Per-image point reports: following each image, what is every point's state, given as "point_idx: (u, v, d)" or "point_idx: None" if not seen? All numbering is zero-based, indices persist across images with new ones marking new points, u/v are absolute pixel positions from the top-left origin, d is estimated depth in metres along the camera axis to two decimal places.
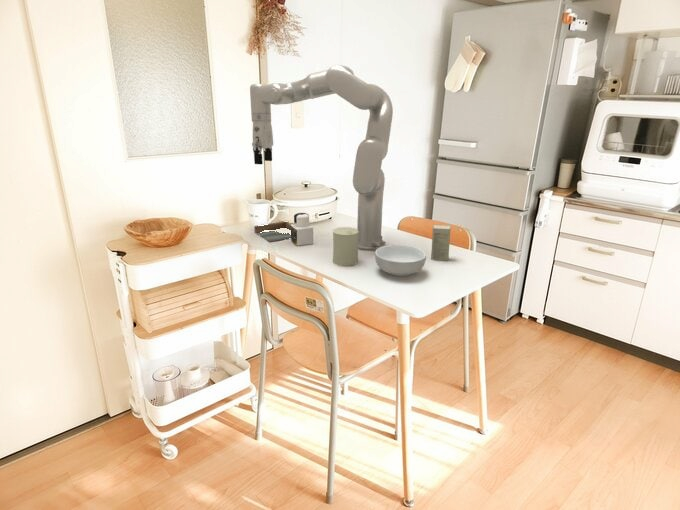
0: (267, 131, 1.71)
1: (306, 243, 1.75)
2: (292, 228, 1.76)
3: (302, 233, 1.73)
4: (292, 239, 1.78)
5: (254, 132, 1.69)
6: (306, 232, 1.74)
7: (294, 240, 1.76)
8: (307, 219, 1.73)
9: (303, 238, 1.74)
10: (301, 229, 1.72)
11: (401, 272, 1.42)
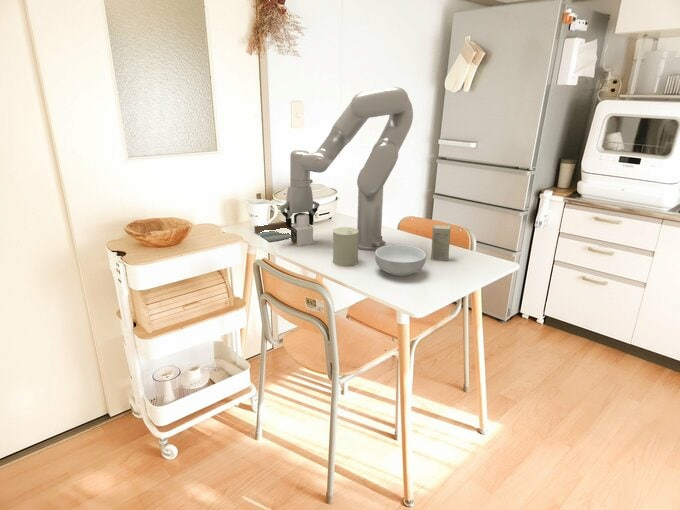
0: None
1: (306, 243, 1.75)
2: (292, 228, 1.76)
3: (302, 233, 1.73)
4: (292, 239, 1.78)
5: None
6: (306, 232, 1.74)
7: (294, 240, 1.76)
8: (307, 219, 1.73)
9: (303, 238, 1.74)
10: (301, 229, 1.72)
11: (401, 272, 1.42)
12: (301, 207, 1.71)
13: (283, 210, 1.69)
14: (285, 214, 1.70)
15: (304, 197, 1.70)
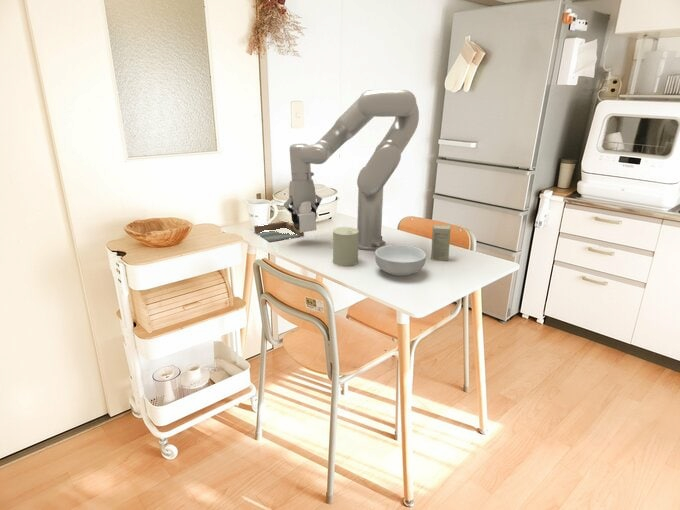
0: None
1: (309, 229, 1.73)
2: None
3: (304, 219, 1.71)
4: (295, 226, 1.76)
5: None
6: (308, 218, 1.72)
7: (296, 227, 1.74)
8: (309, 205, 1.71)
9: (305, 225, 1.72)
10: (303, 215, 1.70)
11: (401, 272, 1.42)
12: (304, 201, 1.70)
13: (288, 206, 1.69)
14: (290, 210, 1.69)
15: (306, 190, 1.69)
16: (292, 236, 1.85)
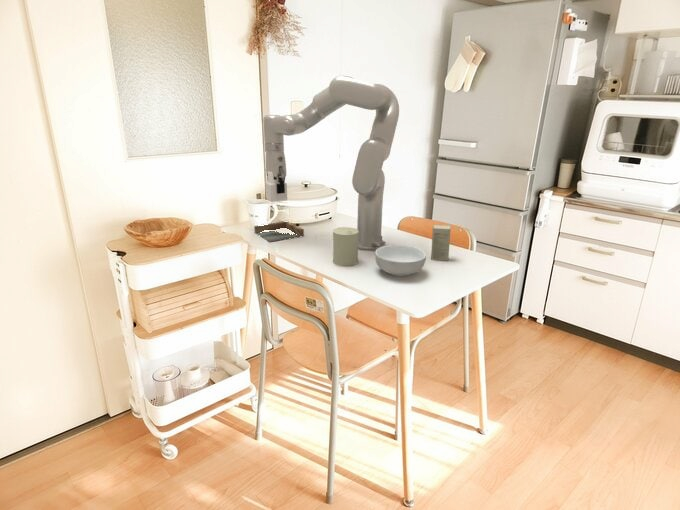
0: None
1: (268, 198, 1.80)
2: None
3: (266, 187, 1.79)
4: None
5: (277, 162, 1.72)
6: (267, 187, 1.78)
7: None
8: (270, 175, 1.76)
9: (267, 193, 1.80)
10: (266, 183, 1.79)
11: (401, 272, 1.42)
12: (269, 170, 1.77)
13: None
14: (267, 175, 1.83)
15: (269, 161, 1.74)
16: (292, 236, 1.85)
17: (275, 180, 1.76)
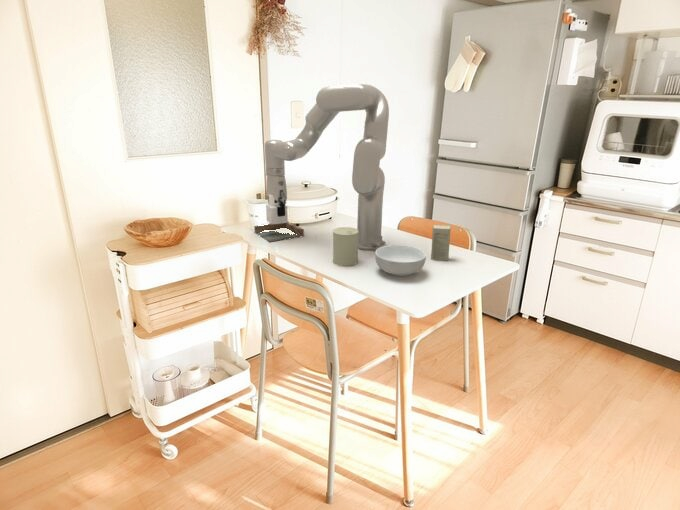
0: None
1: (269, 221, 1.83)
2: None
3: (267, 210, 1.83)
4: None
5: (278, 186, 1.75)
6: (268, 210, 1.81)
7: None
8: (271, 199, 1.79)
9: (268, 215, 1.83)
10: (267, 206, 1.83)
11: (401, 272, 1.42)
12: (270, 193, 1.80)
13: None
14: (268, 197, 1.86)
15: (270, 184, 1.78)
16: (292, 236, 1.85)
17: (276, 203, 1.79)
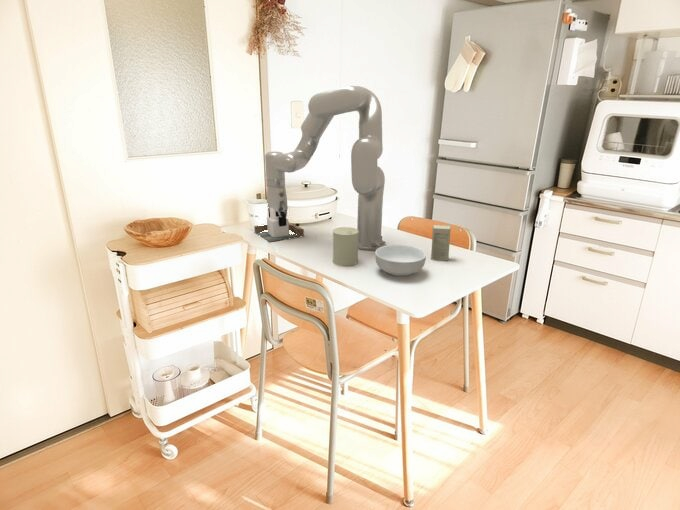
0: None
1: (270, 234, 1.85)
2: None
3: (268, 223, 1.85)
4: None
5: (279, 197, 1.77)
6: (270, 224, 1.83)
7: None
8: (272, 212, 1.81)
9: (269, 228, 1.85)
10: (268, 219, 1.84)
11: (401, 272, 1.42)
12: (271, 204, 1.82)
13: (268, 203, 1.88)
14: None
15: (271, 196, 1.79)
16: (292, 236, 1.85)
17: (277, 217, 1.81)
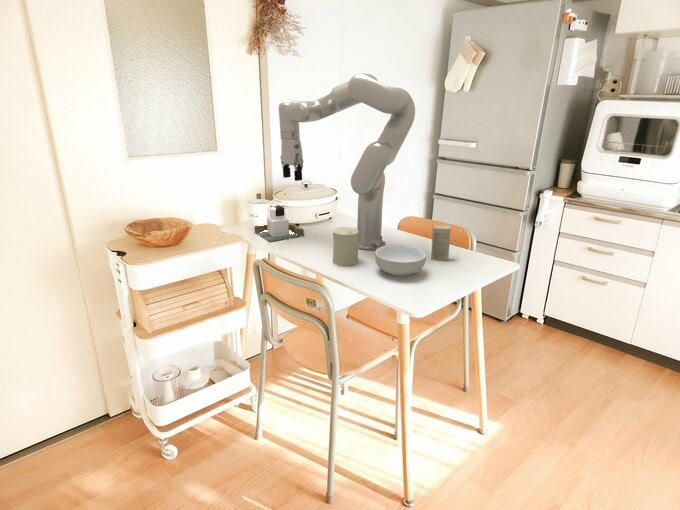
0: None
1: (270, 234, 1.85)
2: None
3: (268, 223, 1.85)
4: None
5: (294, 149, 1.71)
6: (270, 224, 1.83)
7: None
8: (272, 212, 1.81)
9: (269, 228, 1.85)
10: (268, 219, 1.84)
11: (401, 272, 1.42)
12: (285, 159, 1.76)
13: (281, 159, 1.82)
14: (282, 163, 1.82)
15: (286, 149, 1.73)
16: (292, 236, 1.85)
17: (277, 217, 1.81)
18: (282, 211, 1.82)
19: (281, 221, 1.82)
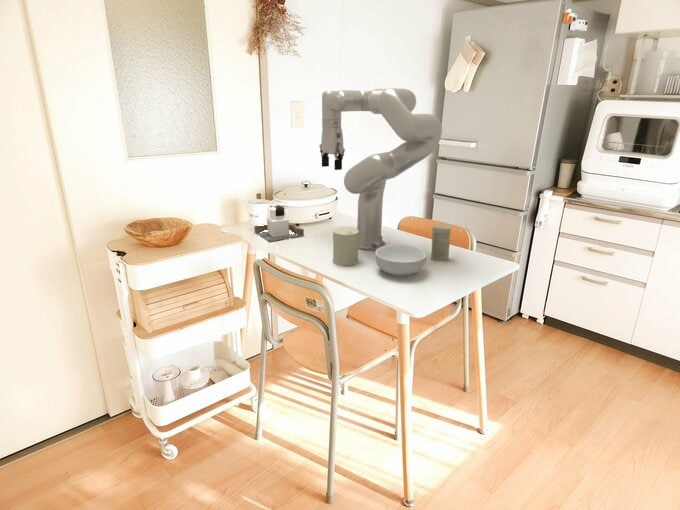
0: None
1: (270, 234, 1.85)
2: None
3: (268, 223, 1.85)
4: None
5: (336, 138, 1.71)
6: (270, 224, 1.83)
7: None
8: (272, 212, 1.81)
9: (269, 228, 1.85)
10: (268, 219, 1.84)
11: (401, 272, 1.42)
12: (326, 147, 1.75)
13: (320, 148, 1.82)
14: (321, 152, 1.82)
15: (327, 138, 1.73)
16: (292, 236, 1.85)
17: (277, 217, 1.81)
18: (282, 211, 1.82)
19: (281, 221, 1.82)
